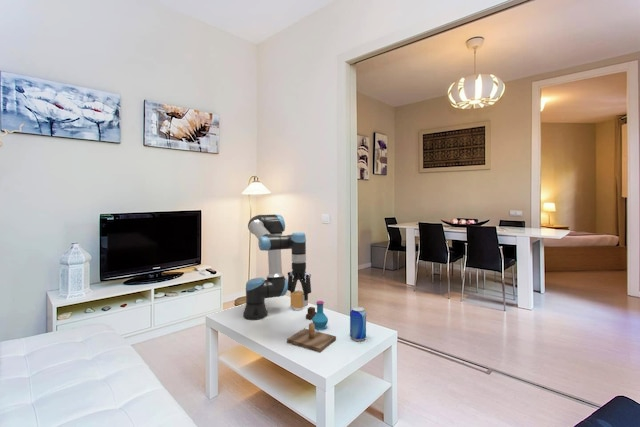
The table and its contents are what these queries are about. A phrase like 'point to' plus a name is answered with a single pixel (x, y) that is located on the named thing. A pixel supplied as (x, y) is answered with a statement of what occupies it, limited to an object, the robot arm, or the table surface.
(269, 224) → the robot arm
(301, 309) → the foam cup
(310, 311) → the stack of crates
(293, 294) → the wooden toy cube
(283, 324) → the table surface
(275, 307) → the table surface
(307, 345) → the post board
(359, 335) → the beer can
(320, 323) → the perfume bottle
